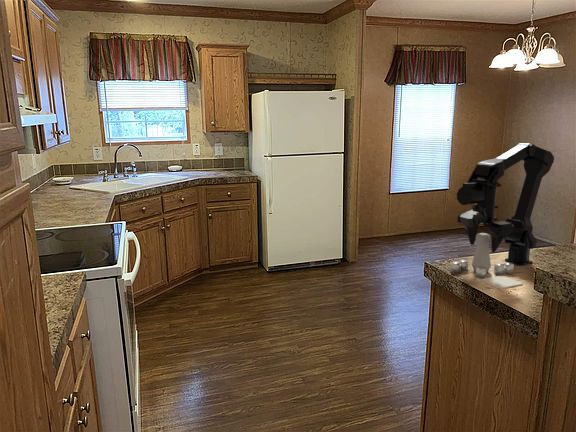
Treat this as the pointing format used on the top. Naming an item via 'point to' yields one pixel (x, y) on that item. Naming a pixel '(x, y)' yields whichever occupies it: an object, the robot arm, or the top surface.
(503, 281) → the mat
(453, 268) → the spacer posts
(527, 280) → the top surface
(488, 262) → the salt shaker
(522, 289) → the top surface
